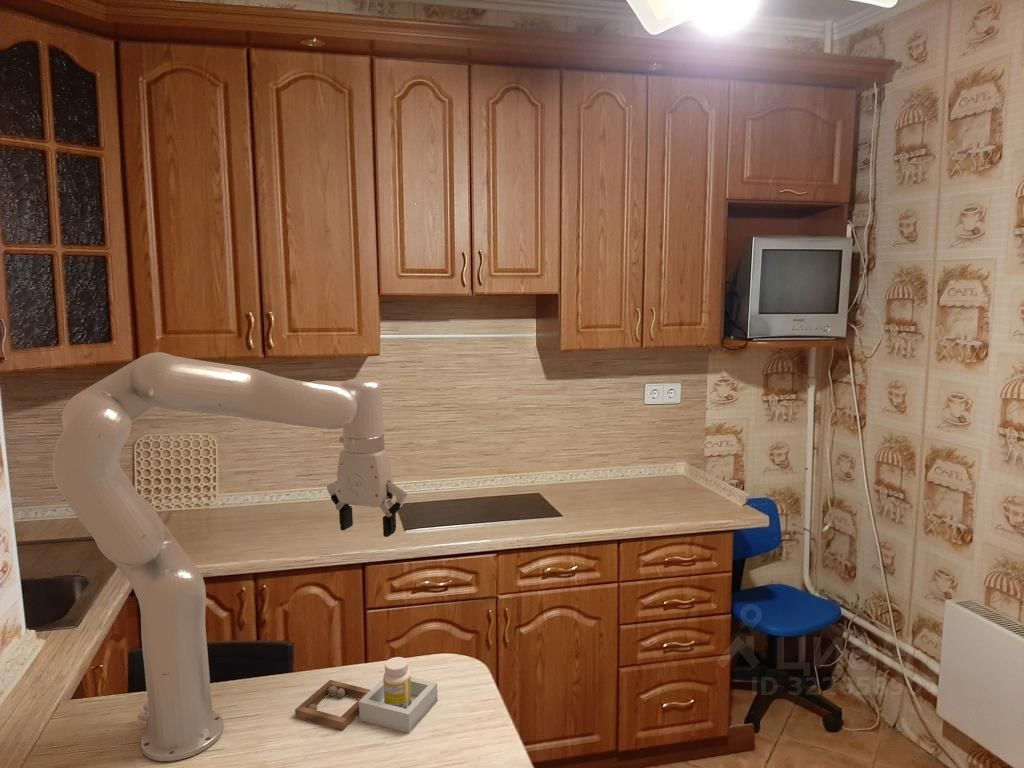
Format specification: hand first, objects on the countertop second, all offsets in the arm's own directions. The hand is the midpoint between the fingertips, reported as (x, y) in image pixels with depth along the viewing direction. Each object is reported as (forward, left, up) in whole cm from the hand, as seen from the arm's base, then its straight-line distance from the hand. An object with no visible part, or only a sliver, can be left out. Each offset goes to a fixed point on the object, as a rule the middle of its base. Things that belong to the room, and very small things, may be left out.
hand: (367, 531), depth 136 cm
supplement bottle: (+12, -10, -28) cm, 32 cm away
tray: (+1, -14, -28) cm, 31 cm away
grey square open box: (+12, -10, -28) cm, 32 cm away
